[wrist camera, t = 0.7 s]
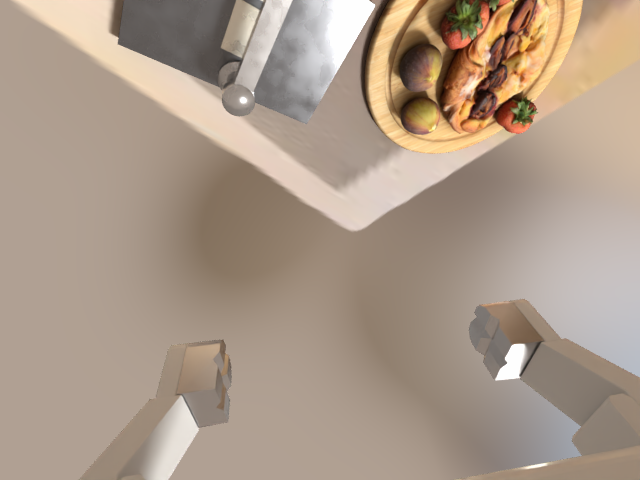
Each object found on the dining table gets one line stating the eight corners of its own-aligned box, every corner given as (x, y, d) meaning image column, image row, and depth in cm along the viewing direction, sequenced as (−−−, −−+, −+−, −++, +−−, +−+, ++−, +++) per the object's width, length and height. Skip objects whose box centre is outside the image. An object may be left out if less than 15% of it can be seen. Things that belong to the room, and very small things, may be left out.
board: (148, -158, 30) (139, -156, 27) (371, 0, 43) (384, 15, 40) (119, 42, 42) (110, 61, 38) (303, 121, 54) (309, 140, 51)
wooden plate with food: (579, 72, 57) (615, 95, 52) (411, 176, 68) (427, 204, 63) (566, -170, 35) (626, -173, 30) (321, 41, 46) (334, 66, 41)
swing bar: (247, 113, 46) (248, 120, 44) (217, 101, 44) (217, 109, 43) (326, -69, 33) (330, -66, 32) (290, -98, 31) (292, -95, 30)
